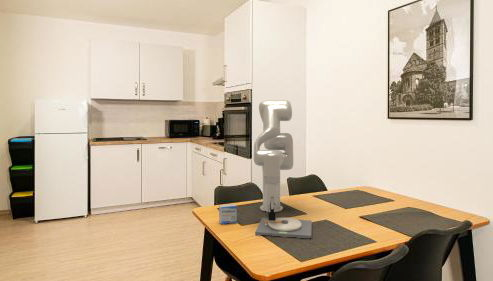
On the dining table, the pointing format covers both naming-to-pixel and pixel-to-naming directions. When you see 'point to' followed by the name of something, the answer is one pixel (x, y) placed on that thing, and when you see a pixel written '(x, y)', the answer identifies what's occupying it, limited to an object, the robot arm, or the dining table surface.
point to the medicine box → (227, 213)
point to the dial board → (300, 233)
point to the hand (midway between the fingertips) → (271, 218)
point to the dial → (284, 224)
